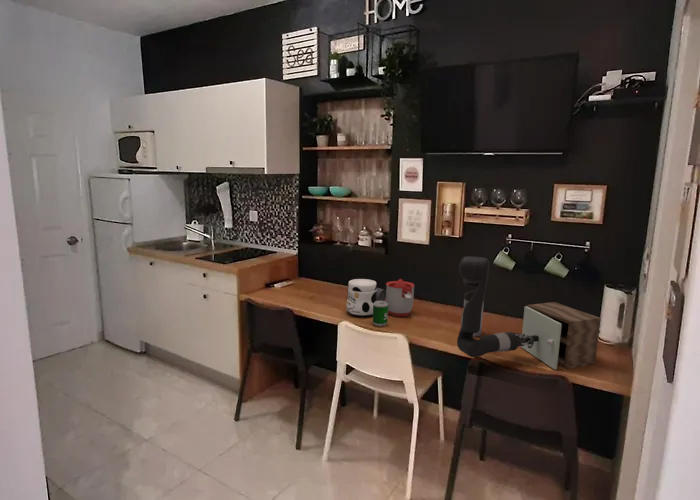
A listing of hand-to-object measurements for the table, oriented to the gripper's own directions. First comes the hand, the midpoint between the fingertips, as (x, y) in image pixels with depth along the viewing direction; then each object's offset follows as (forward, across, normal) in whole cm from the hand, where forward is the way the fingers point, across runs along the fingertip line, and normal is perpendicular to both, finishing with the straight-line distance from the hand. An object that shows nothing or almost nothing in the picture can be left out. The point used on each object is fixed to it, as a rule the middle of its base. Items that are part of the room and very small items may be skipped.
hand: (537, 338), depth 187 cm
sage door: (0, -1, +8) cm, 8 cm away
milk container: (-50, +76, +9) cm, 92 cm away
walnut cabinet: (+12, 0, +9) cm, 15 cm away
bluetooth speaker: (-40, +98, +9) cm, 106 cm away
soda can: (-48, +57, +9) cm, 75 cm away
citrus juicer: (-30, +70, +9) cm, 77 cm away
